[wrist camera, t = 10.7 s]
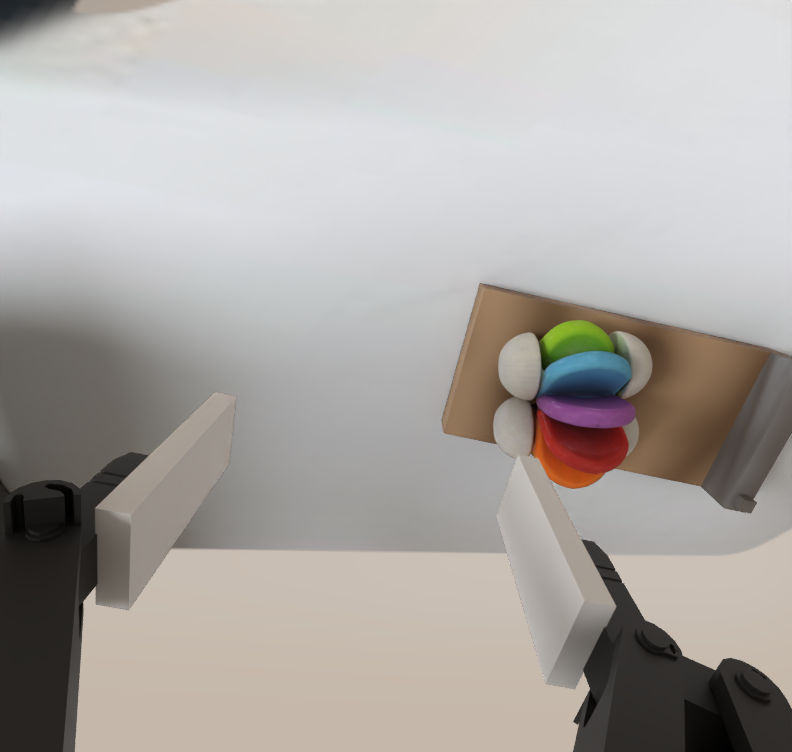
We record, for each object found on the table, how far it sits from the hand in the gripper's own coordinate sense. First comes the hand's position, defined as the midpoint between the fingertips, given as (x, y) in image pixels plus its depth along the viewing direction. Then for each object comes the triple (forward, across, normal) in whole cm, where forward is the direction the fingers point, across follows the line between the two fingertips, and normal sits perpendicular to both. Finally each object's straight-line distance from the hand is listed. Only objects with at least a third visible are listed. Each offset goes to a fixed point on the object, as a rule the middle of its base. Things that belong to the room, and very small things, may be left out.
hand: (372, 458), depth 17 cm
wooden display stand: (+16, +15, 0) cm, 22 cm away
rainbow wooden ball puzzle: (+14, +11, 0) cm, 18 cm away
